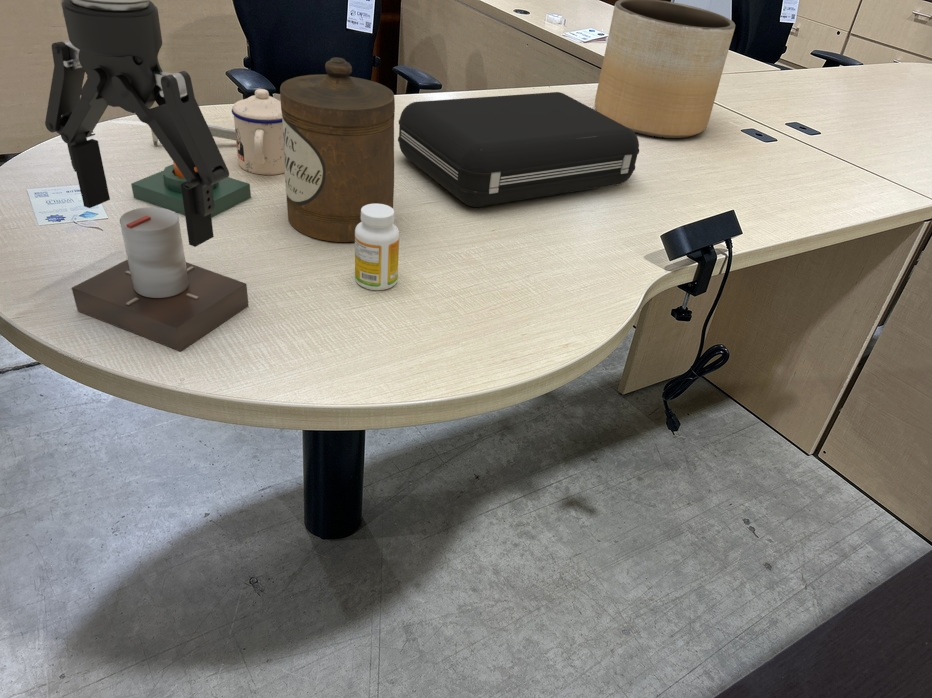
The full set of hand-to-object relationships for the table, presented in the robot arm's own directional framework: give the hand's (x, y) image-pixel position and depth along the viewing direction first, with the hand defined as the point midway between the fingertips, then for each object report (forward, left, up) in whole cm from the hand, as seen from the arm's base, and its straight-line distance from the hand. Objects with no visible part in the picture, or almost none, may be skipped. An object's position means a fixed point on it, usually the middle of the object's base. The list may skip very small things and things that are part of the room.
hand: (148, 221), depth 77 cm
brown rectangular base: (0, 0, -11) cm, 11 cm away
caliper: (-27, +42, -11) cm, 51 cm away
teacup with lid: (-16, +39, -11) cm, 43 cm away
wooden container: (+3, +31, -11) cm, 33 cm away
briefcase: (+14, +67, -11) cm, 69 cm away
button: (-17, +24, -7) cm, 30 cm away
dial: (0, 0, -7) cm, 7 cm away
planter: (+29, +114, -11) cm, 118 cm away
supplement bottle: (+16, +19, -11) cm, 27 cm away
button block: (-17, +24, -11) cm, 31 cm away
